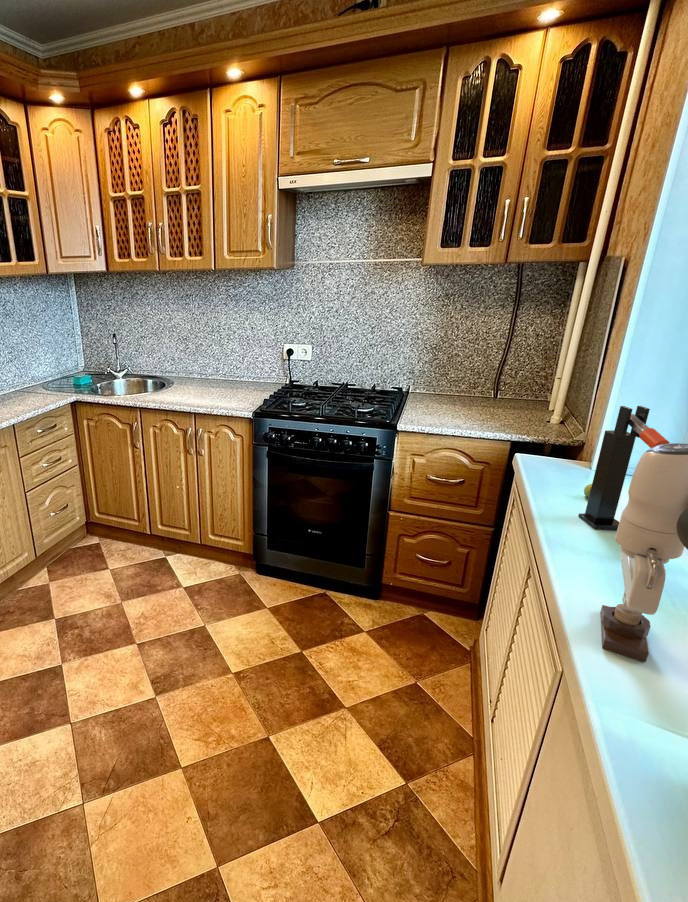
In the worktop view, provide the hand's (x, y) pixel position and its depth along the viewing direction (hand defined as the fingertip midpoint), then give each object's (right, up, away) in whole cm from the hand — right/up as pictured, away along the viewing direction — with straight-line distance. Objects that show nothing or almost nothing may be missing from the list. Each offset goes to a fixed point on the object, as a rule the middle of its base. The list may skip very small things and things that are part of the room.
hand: (628, 606), depth 92 cm
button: (0, -2, +1) cm, 3 cm away
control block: (0, -6, +2) cm, 6 cm away
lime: (+35, +15, +56) cm, 68 cm away
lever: (+26, +31, +29) cm, 50 cm away
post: (+27, +10, +42) cm, 51 cm away
